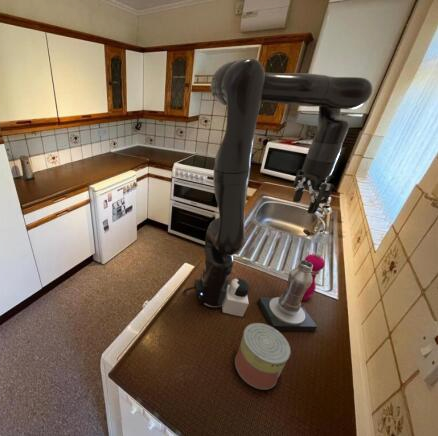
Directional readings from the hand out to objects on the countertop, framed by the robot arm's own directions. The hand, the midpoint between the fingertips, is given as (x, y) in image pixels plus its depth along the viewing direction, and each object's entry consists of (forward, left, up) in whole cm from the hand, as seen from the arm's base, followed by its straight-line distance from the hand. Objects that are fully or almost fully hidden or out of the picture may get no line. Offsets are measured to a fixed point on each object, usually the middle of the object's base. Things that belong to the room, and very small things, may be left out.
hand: (303, 207), depth 77 cm
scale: (-2, -13, -36) cm, 38 cm away
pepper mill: (+9, -3, -36) cm, 38 cm away
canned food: (-19, -31, -36) cm, 51 cm away
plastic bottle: (-2, -13, -33) cm, 36 cm away
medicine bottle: (-19, -10, -36) cm, 42 cm away
